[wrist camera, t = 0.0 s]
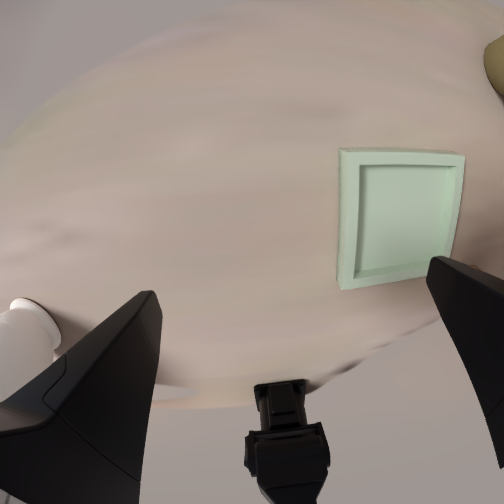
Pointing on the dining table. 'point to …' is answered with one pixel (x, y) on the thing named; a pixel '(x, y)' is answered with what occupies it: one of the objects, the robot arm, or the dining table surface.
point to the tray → (395, 212)
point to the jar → (25, 344)
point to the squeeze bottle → (495, 63)
